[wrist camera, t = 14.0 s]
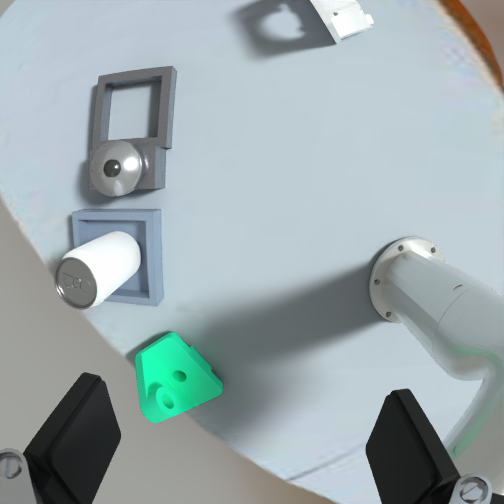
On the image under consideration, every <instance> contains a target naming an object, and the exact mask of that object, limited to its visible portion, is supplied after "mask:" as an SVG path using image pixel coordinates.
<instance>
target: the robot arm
mask: <svg viewBox="0 0 504 504" xmlns="http://www.w3.org/2000/svg"><path fill="white" fill-rule="evenodd" d="M398 246H399V248H398ZM376 279H377V280H376ZM375 280H376V281H375ZM369 292H370V298H371V301H372V304H373V306H374V307H375V309H376V310H377V311H378V312H379V314H380V315H381V316H382V317H384V318H385V319H387V320H389V321H391V322H396V323H403V324H404V325H405V326H406V327H407V329H408V330H409V331H410V332H411V333H412V334H413V335H414V337H415V338H416V339H417V340H418V341H419V342H420V344H421V345H422V346H423V347H424V348H425V349H426V351H427V352H428V353H429V354H430V355H431V357H432V358H433V359H434V360H435V361H436V363H437V364H438V365H439V366H440V367H441V368H442V369H443V370H444V371H445V372H446V373H447V374H448V375H449V376H451V377H453V378H455V379H458V380H463V381H474V380H482V379H483V382H482V385H481V387H480V389H479V390H478V392H477V394H476V395H475V397H474V398H473V400H472V403H471V404H470V406H469V407H468V408H467V410H466V411H465V413H464V414H463V415H462V417H461V418H460V420H459V421H458V422H457V424H456V425H455V426H454V428H453V429H452V430H451V431H450V433H449V434H448V435H447V437H446V438H445V439H444V440H443V442H441V440H440V438H439V437H438V435H437V433H436V431H435V430H434V428H433V426H432V425H431V423H430V422H429V420H428V418H427V417H426V415H425V413H424V412H423V410H422V408H421V407H420V405H419V403H418V402H417V400H416V399H415V397H414V395H413V394H412V392H411V391H410V389H401V390H394V391H392V392H391V393H390V395H387V396H386V398H385V401H384V403H383V406H382V409H381V411H380V414H379V416H378V419H377V421H376V424H375V426H374V428H373V431H372V433H371V435H370V437H369V440H368V442H367V444H366V455H367V458H368V461H369V464H370V467H371V470H372V474H373V477H374V480H375V483H376V486H377V489H378V492H379V496H380V499H381V502H382V504H504V295H502V294H501V293H499V292H497V291H496V290H494V289H492V288H490V287H488V286H487V285H485V284H483V283H481V282H480V281H478V280H476V279H475V278H473V277H471V276H469V275H468V274H466V273H464V272H462V271H460V270H459V269H457V268H455V267H453V266H451V265H450V264H448V263H446V262H445V260H444V257H443V255H442V253H441V251H440V250H439V249H438V247H437V246H436V245H435V244H433V243H432V242H430V241H428V240H426V239H424V238H421V237H407V238H403V239H400V240H398V241H396V242H394V243H393V244H391V245H390V246H389V247H388V248H387V249H385V250H384V252H383V253H382V254H381V255H380V256H379V258H378V260H377V261H376V263H375V265H374V267H373V270H372V272H371V276H370V281H369ZM120 439H121V432H120V429H119V426H118V423H117V420H116V417H115V414H114V410H113V407H112V404H111V401H110V397H109V394H108V390H107V386H106V383H105V382H104V381H102V379H101V377H100V376H98V375H94V374H90V373H86V372H85V373H83V374H81V376H80V377H79V378H78V379H77V381H76V382H75V383H74V385H73V386H72V387H71V388H70V390H69V391H68V392H67V394H66V395H65V396H64V398H63V399H62V400H61V401H60V403H59V404H58V406H57V407H56V408H55V410H54V411H53V412H52V413H51V415H50V416H49V417H48V419H47V420H46V422H45V423H44V424H43V426H42V427H41V428H40V430H39V431H38V432H37V434H36V435H35V437H34V438H33V439H32V441H31V442H30V444H29V445H28V446H27V448H26V449H25V451H24V453H23V454H22V453H21V452H19V451H18V450H15V449H8V448H6V449H3V450H0V504H92V502H93V500H94V498H95V495H96V493H97V491H98V488H99V486H100V484H101V482H102V479H103V477H104V475H105V473H106V471H107V468H108V466H109V464H110V462H111V459H112V457H113V455H114V453H115V451H116V448H117V446H118V444H119V442H120Z"/></svg>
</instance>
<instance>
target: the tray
mask: <svg viewBox="0 0 504 504" xmlns="http://www.w3.org/2000/svg"><path fill="white" fill-rule="evenodd" d="M72 223H73V238H74V249H75V248H77V247H79V246H81V245H84V244H86V243H88V242H90V241H92V240H95V239H97V238H99V237H101V236H104V235H106V234H108V233H111V232H114V231H121V232H125V233H127V234H129V235H130V236H132V237H133V238H134V239H135V241H136V242H137V244H138V246H139V248H140V252H141V264H140V266H139V268H138V270H137V271H136V272H135V273H134V274H133V275H132V276H131V277H130V278H129V279H128V280H127V281H125V282H124V283H123V284H122V285H121V286H120V287H118V288H117V289H116V290H115V291H114V292H113V293H112V294H110V295H109V296H108V297H107V298H106V299H105V300H103V301H111V302H120V303H129V304H138V305H148V306H158V305H159V304H160V302H161V301H162V299H163V298H164V291H163V272H162V243H161V209H82V210H78V211H74V212H72Z"/></svg>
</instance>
